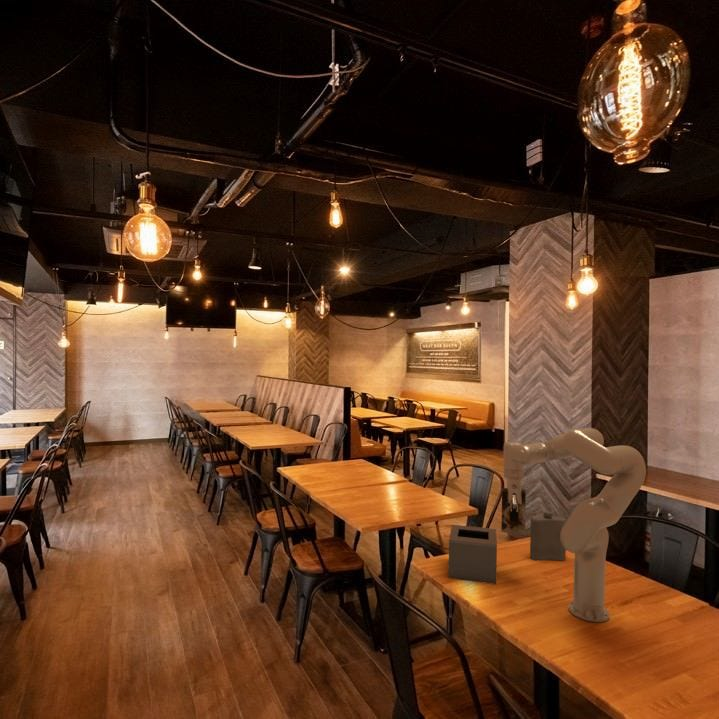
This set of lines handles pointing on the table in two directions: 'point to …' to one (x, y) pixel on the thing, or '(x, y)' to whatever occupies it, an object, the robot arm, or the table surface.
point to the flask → (547, 537)
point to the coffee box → (506, 524)
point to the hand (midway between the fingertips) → (513, 518)
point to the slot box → (473, 554)
